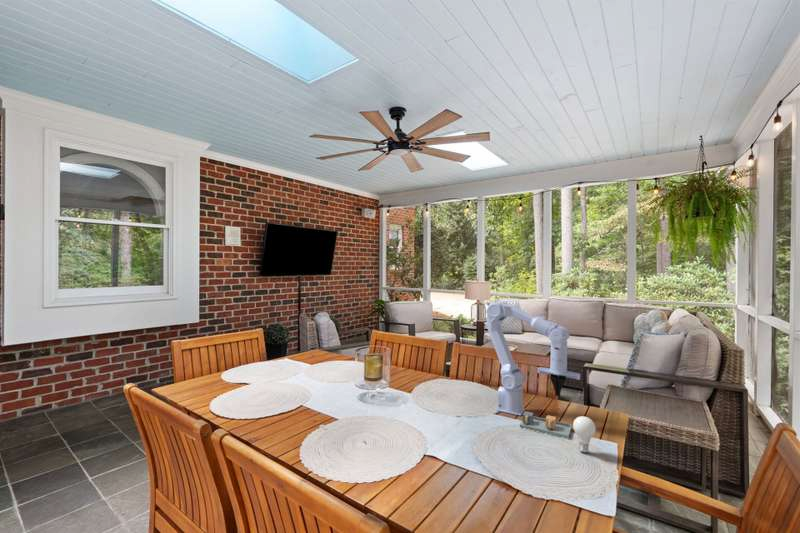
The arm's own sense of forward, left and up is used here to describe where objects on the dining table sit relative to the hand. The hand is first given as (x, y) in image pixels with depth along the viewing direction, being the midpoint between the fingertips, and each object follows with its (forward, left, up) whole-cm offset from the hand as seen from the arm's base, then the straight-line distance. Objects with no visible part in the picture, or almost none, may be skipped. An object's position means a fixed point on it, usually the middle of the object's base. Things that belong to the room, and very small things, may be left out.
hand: (557, 395), depth 136 cm
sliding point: (-1, -9, -9) cm, 12 cm away
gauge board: (-3, -7, -10) cm, 13 cm away
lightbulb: (+10, -19, -11) cm, 24 cm away
